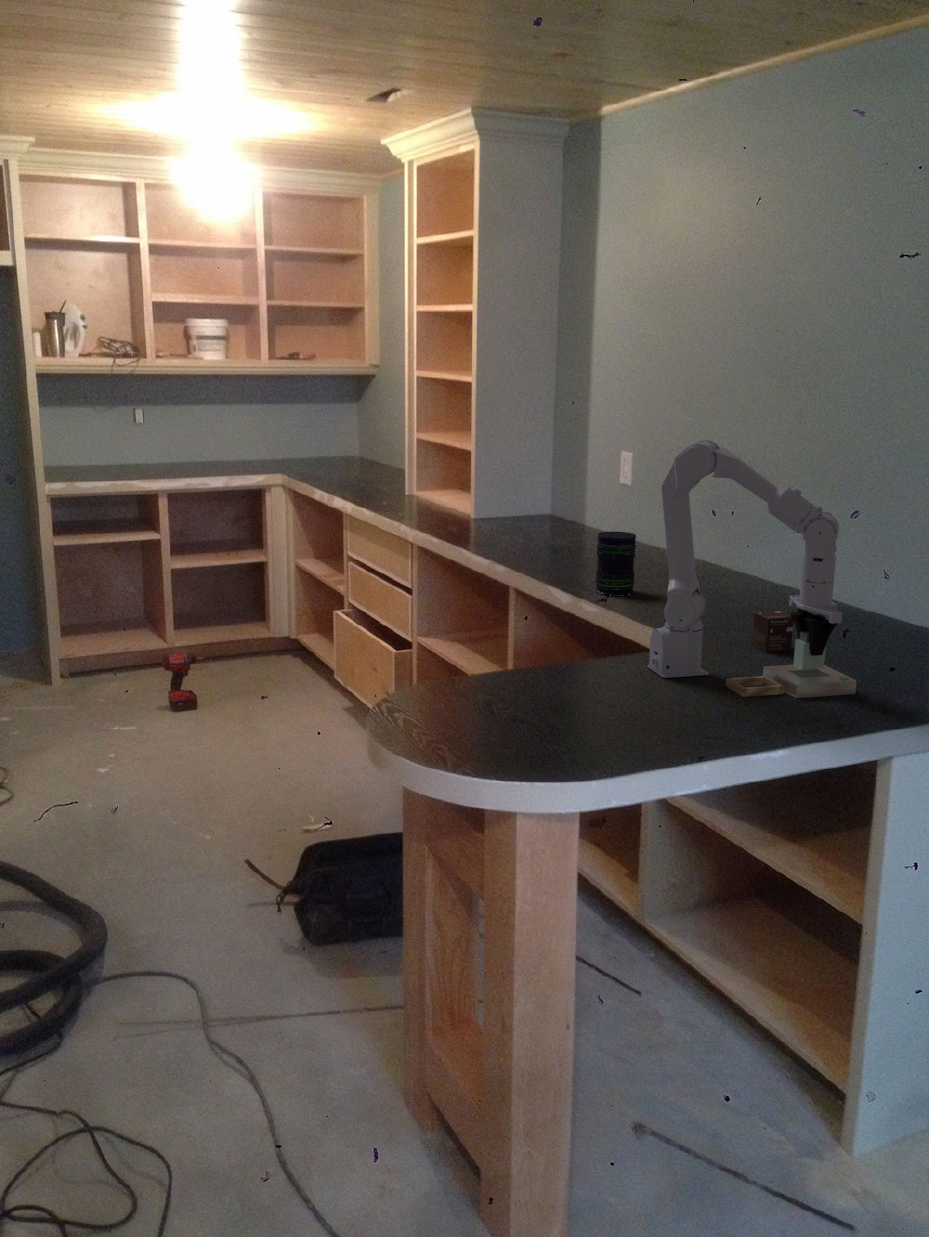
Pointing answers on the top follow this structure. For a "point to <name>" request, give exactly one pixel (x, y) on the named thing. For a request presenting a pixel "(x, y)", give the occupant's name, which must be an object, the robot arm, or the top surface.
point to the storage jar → (615, 562)
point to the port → (810, 681)
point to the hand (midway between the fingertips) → (811, 652)
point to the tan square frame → (768, 688)
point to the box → (772, 631)
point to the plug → (806, 654)
